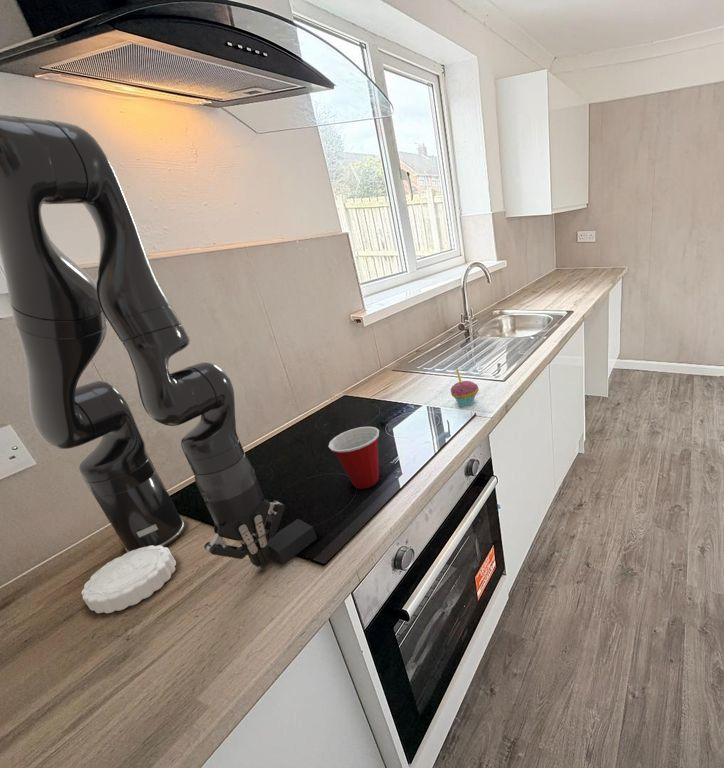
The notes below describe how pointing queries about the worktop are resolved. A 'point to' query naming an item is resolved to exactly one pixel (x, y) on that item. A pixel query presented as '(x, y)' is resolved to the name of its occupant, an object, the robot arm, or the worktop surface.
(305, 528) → the eraser
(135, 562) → the mooncake
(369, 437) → the plastic cup
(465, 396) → the cupcake
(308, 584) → the worktop surface
